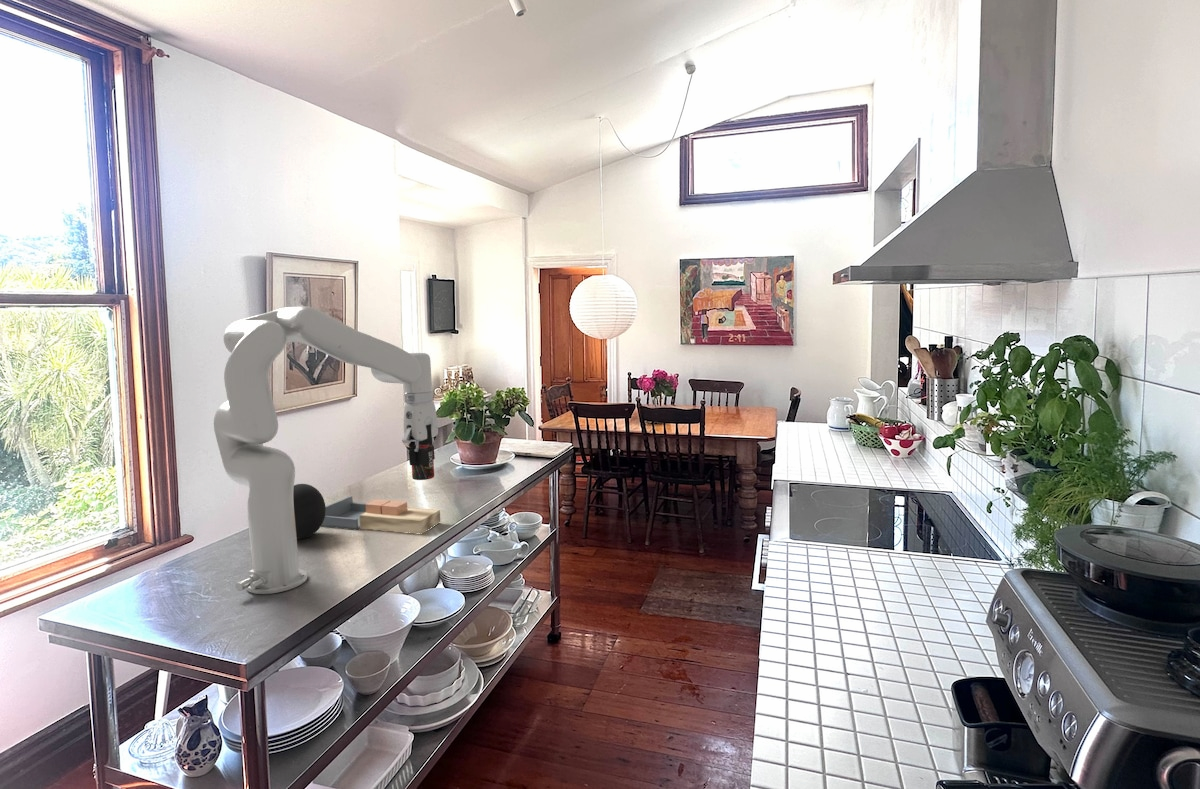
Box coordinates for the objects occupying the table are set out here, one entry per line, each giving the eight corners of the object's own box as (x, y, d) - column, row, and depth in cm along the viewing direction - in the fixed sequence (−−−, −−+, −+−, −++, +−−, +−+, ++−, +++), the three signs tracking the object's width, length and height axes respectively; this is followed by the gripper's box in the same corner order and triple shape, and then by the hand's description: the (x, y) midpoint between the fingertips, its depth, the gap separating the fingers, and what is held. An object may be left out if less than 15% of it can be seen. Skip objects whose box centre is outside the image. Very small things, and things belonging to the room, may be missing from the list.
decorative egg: (277, 534, 184) (272, 482, 182) (325, 527, 190) (321, 476, 188) (279, 548, 174) (274, 493, 172) (330, 539, 179) (325, 486, 177)
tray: (356, 529, 187) (355, 512, 186) (319, 526, 191) (317, 509, 190) (386, 514, 200) (385, 498, 200) (351, 511, 204) (350, 495, 204)
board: (421, 534, 182) (420, 520, 181) (360, 528, 188) (359, 515, 187) (440, 523, 191) (439, 510, 191) (382, 517, 197) (381, 505, 197)
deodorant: (430, 479, 180) (427, 426, 178) (409, 480, 181) (406, 426, 179) (437, 474, 186) (434, 422, 184) (416, 474, 186) (413, 422, 184)
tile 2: (397, 515, 186) (396, 507, 186) (382, 514, 188) (381, 505, 188) (407, 510, 191) (406, 501, 191) (392, 509, 193) (392, 500, 192)
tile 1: (380, 514, 188) (380, 505, 188) (366, 512, 190) (365, 504, 189) (391, 508, 193) (390, 500, 192) (376, 507, 194) (376, 499, 194)
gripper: (411, 403, 171) (415, 470, 174) (447, 394, 187) (450, 456, 190) (387, 402, 174) (391, 469, 176) (424, 393, 190) (428, 454, 192)
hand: (422, 461), depth 183 cm, fingers closed on deodorant, 5 cm apart
